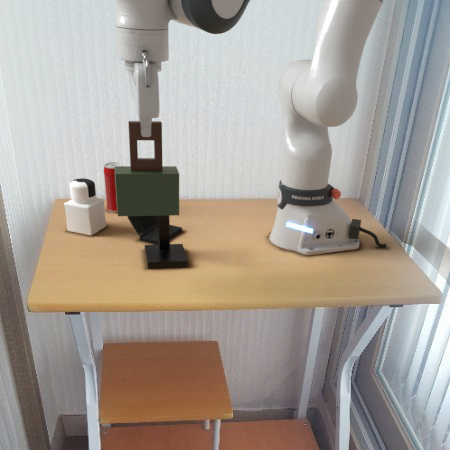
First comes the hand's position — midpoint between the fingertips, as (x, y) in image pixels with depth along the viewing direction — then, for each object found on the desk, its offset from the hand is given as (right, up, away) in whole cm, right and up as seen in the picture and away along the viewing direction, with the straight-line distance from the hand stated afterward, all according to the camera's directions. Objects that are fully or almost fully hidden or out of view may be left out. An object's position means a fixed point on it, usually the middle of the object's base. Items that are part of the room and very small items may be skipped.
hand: (145, 134), depth 108 cm
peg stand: (+1, -17, +27) cm, 32 cm away
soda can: (-15, +3, +52) cm, 54 cm away
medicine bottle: (-20, -6, +40) cm, 45 cm away
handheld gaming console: (-3, -8, +39) cm, 40 cm away
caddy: (-1, -11, +9) cm, 14 cm away
